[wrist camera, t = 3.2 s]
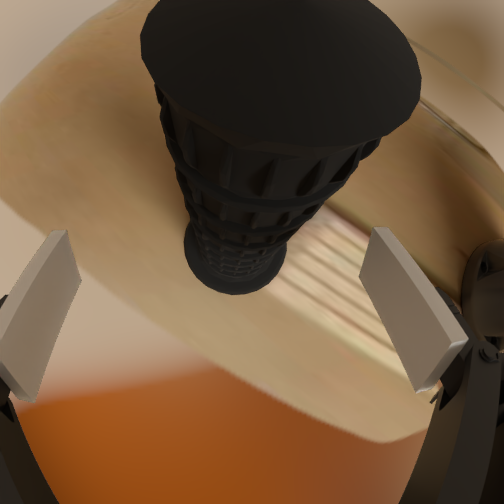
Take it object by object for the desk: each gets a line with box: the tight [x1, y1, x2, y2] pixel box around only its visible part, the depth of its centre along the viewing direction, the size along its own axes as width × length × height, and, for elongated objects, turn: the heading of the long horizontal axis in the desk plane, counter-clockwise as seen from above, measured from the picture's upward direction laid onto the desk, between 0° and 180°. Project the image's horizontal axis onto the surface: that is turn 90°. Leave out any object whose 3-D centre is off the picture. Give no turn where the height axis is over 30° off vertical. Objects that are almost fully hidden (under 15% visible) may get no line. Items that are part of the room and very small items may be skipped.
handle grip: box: [140, 0, 422, 295], centre depth 18 cm, size 10×26×10 cm
